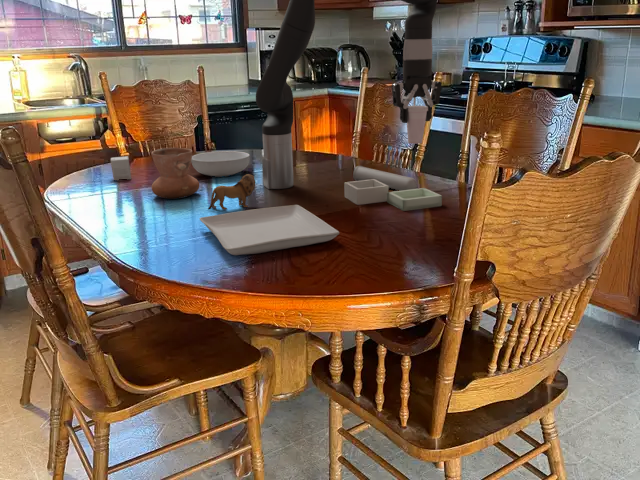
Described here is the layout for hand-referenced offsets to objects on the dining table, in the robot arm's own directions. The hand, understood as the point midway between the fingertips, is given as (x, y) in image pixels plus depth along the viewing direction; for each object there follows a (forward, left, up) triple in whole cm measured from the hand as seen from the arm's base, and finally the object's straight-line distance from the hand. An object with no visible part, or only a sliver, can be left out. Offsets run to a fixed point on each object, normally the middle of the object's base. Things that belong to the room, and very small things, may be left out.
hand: (415, 121), depth 161 cm
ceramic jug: (-62, +40, -23) cm, 77 cm away
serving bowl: (-43, +65, -24) cm, 81 cm away
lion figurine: (-48, +19, -23) cm, 57 cm away
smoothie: (0, 0, -6) cm, 6 cm away
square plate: (-46, -11, -24) cm, 53 cm away
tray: (0, 0, -23) cm, 23 cm away
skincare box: (-77, +74, -23) cm, 109 cm away
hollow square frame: (-10, +11, -23) cm, 28 cm away
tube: (+2, +23, -24) cm, 33 cm away
